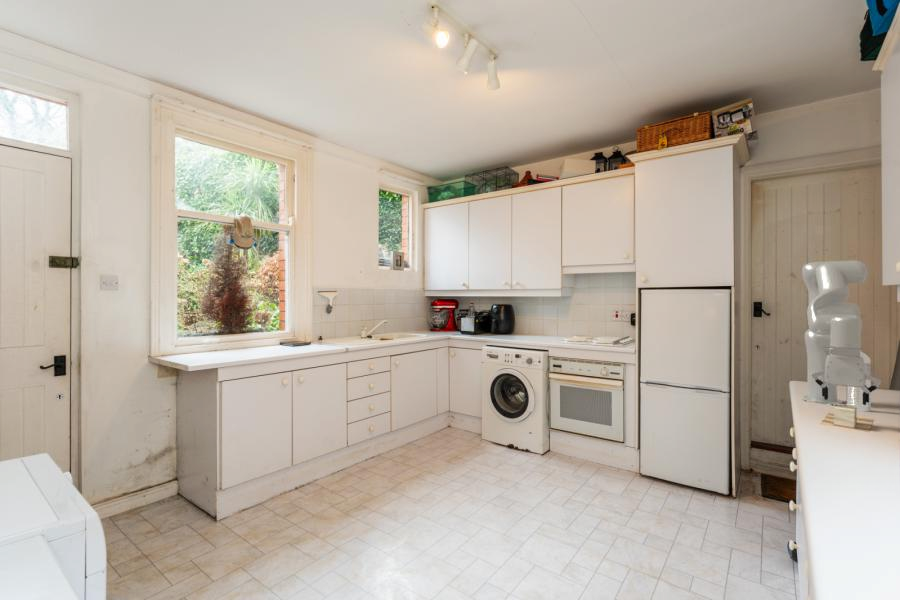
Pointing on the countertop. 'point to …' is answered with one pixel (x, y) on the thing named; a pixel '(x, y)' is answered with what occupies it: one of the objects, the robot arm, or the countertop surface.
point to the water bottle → (856, 393)
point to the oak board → (861, 425)
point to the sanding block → (845, 415)
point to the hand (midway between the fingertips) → (844, 401)
